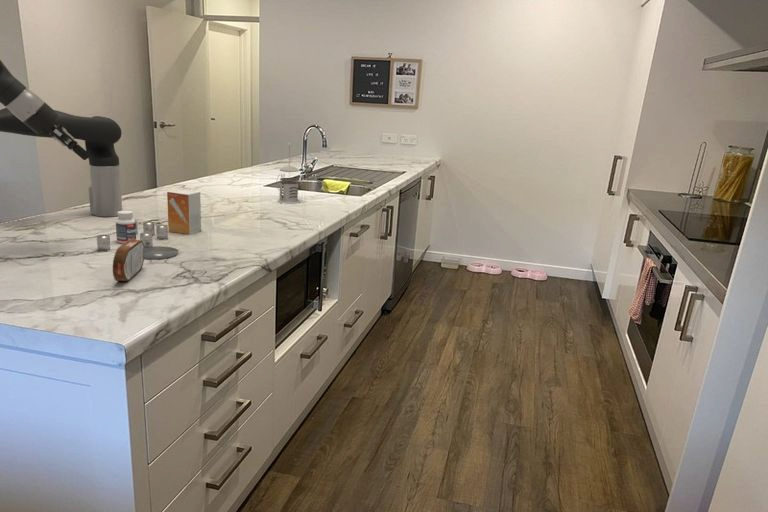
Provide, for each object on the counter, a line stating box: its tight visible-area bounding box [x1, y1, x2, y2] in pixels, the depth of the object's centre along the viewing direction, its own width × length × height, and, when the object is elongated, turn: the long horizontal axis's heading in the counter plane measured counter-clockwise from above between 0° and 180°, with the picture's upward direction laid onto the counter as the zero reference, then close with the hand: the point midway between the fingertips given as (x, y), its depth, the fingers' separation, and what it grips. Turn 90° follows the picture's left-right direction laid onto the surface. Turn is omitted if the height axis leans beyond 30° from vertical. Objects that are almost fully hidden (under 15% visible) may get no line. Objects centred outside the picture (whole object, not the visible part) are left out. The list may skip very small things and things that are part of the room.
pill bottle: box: [115, 210, 137, 244], centre depth 163 cm, size 5×5×9 cm
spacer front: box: [155, 224, 169, 241], centre depth 169 cm, size 3×3×4 cm
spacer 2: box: [139, 232, 154, 248], centre depth 159 cm, size 3×3×4 cm
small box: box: [166, 188, 202, 235], centre depth 178 cm, size 8×6×13 cm
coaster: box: [144, 245, 179, 260], centre depth 154 cm, size 11×11×1 cm
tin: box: [112, 239, 145, 282], centre depth 135 cm, size 15×3×8 cm, turn 5°
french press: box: [276, 142, 301, 205], centre depth 233 cm, size 10×12×25 cm
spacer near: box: [96, 234, 111, 252], centre depth 154 cm, size 3×3×4 cm
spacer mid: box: [142, 221, 156, 237], centre depth 171 cm, size 3×3×4 cm
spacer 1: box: [134, 219, 139, 235], centre depth 172 cm, size 3×3×4 cm
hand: (85, 155), depth 153 cm, fingers open, 8 cm apart
